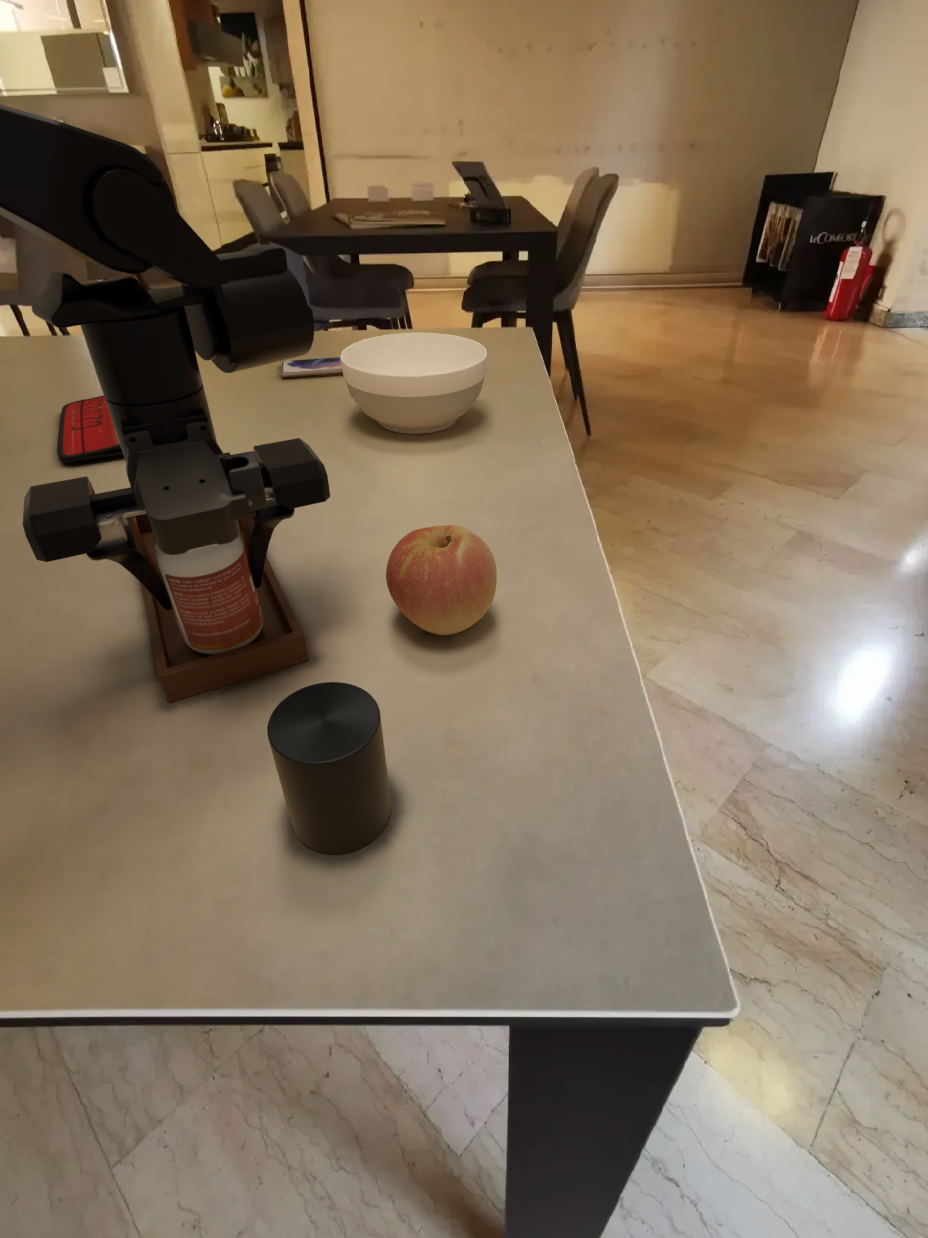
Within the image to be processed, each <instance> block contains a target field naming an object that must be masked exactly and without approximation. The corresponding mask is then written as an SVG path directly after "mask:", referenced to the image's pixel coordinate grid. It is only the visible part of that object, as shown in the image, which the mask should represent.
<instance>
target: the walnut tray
mask: <svg viewBox="0 0 928 1238" xmlns="http://www.w3.org/2000/svg"><path fill="white" fill-rule="evenodd" d="M133 519H134V521H135V524H136V526H137V528H138V530H139V532H140V534H141V536H142V538H143V540H144V542H145V544H146V547H147V549H148V551H149V553H150V555H151V557H152V559H153V561H154V563H155V565H156V562H155V559H154V548H155V545H156V543H157V542H156V540H155V537H154V534H153V531H152V528H151V525H150V522H149V520H148V517H147V515H144V516H139V517H134V518H133ZM238 523H239V528H240V535H241V537H242V539H243V543H244V546H245V539H244V532H243V524H242V519H240V520H238ZM245 550H246V547H245ZM156 567H157V565H156ZM157 570H158V568H157ZM158 572H159V571H158ZM139 583H140V588H141V593H142V598H143V599H142V600H143V604H144V609H145V615H146V620H147V624H148V631H149V635H150V640H151V645H152V650H153V657H154V661H155V667H156V672H157V676H158V679H159V682H160V685H161V687H162V690H163V693H164V695H165V697H166V701H167V703H169V704H170V703H174V702H177V701H180V700H183V699H187V698H190V697H193V696H196V695H200V694H204V693H207V692H209V691H213V690H216V689H219V688H223V687H226V686H229V685H232V684H237V683H239V682H243V681H245V680H249V679H252V678H255V677H259V676H262V675H265V674H269V673H272V672H276V671H278V670H281V669H282V670H283V669H285V668H288V667H292V666H296V665H299V664H301V663H305V662H309V661H310V657H309V653H308V646H307V642H306V637H305V633H304V632H303V629H302V627H301V625H300V624H299V623H300V622H299V621H298V618H297V617H296V614H295V613H294V610H293V609H292V606H291V604H290V602H289V601H288V598H287V596H286V593H285V592H284V590H283V587H282V586H281V584H280V581H279V579H278V578H277V575H276V573H275V572H274V569H273V567H272V565H271V563H270V561H269V558H268V556H266V561H265V566H264V572H263V577H262V582H261V587H258V588H256V592H257V596H258V600H259V603H260V607H261V611H262V615H263V627H262V630H261V632H260V633H259V635H258V636H257V637H256V638H255V639H254V640H253V641H252V642H251V643H250V644H248V645H247V646H243V647H240V648H237V649H233V650H230V651H226V652H223V653H219V654H204V653H200V652H197V651H195V650H193V649H191V648H190V647H189V646H188V645H187V644H186V643H185V641H184V639H183V636H182V634H181V631H180V628H179V626H178V623H177V620H176V618H175V615H174V612H173V610H172V609H171V610H168V611H166V610H165V609H164V608H163V607H162V606H161V605H160V603H159V602H158V601H157V600H156V599H155V598H154V597H153V596H152V595H151V594H150V592H149V591H148V590H147V589H146V588H145V587H144V586H143V585H142V584H141V582H139ZM171 608H172V607H171Z"/></svg>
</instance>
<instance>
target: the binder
mask: <svg viewBox="0 0 928 1238" xmlns="http://www.w3.org/2000/svg"><path fill="white" fill-rule="evenodd" d="M56 448H57V449H56V451H57V452H56V453H57V457H58V459H59V461H60V462H61V463H76V462H80V461H83V462H84V461H85V462H88V461H91V460H95V459H100V458H107V457H116V456H124V455H123V452H122V449H121V446H120V443H119V440H118V437H117V434H116V431H115V428H114V425H113V422H112V419H111V416H110V413H109V410H108V407H107V404H106V401H105V398H104V395H99V396H94V397H91V398H86V399H80V400H75V401H72V402H69V403H67V404H64V405H63V406H62V408H61V412H60V416H59V423H58V433H57V447H56Z"/></svg>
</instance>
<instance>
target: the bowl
mask: <svg viewBox="0 0 928 1238" xmlns="http://www.w3.org/2000/svg"><path fill="white" fill-rule="evenodd" d="M339 357H340V360H341V365H342V370H343V373H342V375H343V379H344V381H345V384H346V387H347V389H348V392H349V394H350V397H351V398H352V400H353V401H354V402H355V403H356V404H357V406H358V407H359V408H360V410H362V412H363V413H364V414H365V415H366V416H368V417H369V418H371V419H372V420H374V421H376V422H377V423H378V425H379V426H381V427H382V428H383V429H385V430H388V431H390V432H395V433H399V434H407V435H422V434H430V433H436V432H440V431H444V430H446V429H448V428H450V427H452V426H453V425H454V424H456V422H457V420H458V419H459V418H460V417H462V416H463V415H465V414H466V413H468V411H469V410H470V409H471V408H472V407H473V405H474V403H475V402H476V400H477V399H478V397H479V396H480V394H481V392H482V390H483V385H484V383H485V378H486V374H487V367H488V366H487V365H488V350H487V349H486V347H485V346H484V345H482V344H481V343H480V342H478V341H476V340H473V339H471V338H467V337H464V336H460V335H454V334H448V333H437V332H402V333H401V332H400V333H391V334H384V335H377V336H372V337H369V338H365V339H361V340H359V341H356V342H354V343H352V344H350V345H348V346H346V347H345V348H344V349H343V350H342V351H341V353H340V356H339Z"/></svg>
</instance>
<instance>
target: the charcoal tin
mask: <svg viewBox="0 0 928 1238" xmlns="http://www.w3.org/2000/svg"><path fill="white" fill-rule="evenodd" d="M266 729H267V730H266V734H267V739H268V742H269V747H270V750H271V753H272V757H273V761H274V764H275V768H276V772H277V776H278V779H279V782H280V786H281V790H282V795H283V797H284V801H285V805H286V809H287V812H288V815H289V819H290V823H291V826H292V829H293V833H294V834H295V836H296V837H297V839H298V840H299V841H300V842H301V843H302V844H303V845H304V846H306V847H307V848H309V849H311V850H313V851H314V852H317V853H321V854H326V855H343V854H348V853H352V852H355V851H357V850H360V849H362V848H364V847H365V846H367V845H369V844H370V843H372V842H373V841H374V840H375V839H377V838H378V836H379V835H381V833H382V832H383V830H384V829H385V827H387V825H388V822H389V820H390V817H391V811H392V801H391V792H390V784H389V776H388V766H387V759H386V751H385V749H386V748H385V743H384V733H383V726H382V717H381V710H380V707H379V704H378V702H377V700H376V699H375V698H374V697H373V696H372V694H370V692H368V691H366V690H365V689H363V688H361V687H360V686H357V685H354V684H352V683H347V682H342V681H327V682H326V681H325V682H319V683H314V684H310V685H307V686H305V687H302V688H300V689H298V690H296V691H294V692H292V693H290V694H289V695H288V696H286V697H285V698H283V699H282V700H281V701H280V702H279V703H278V704H277V705H276V707H275V708H274V709H273V711H272V713H271V714H270V716H269V719H268V722H267V728H266Z"/></svg>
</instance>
